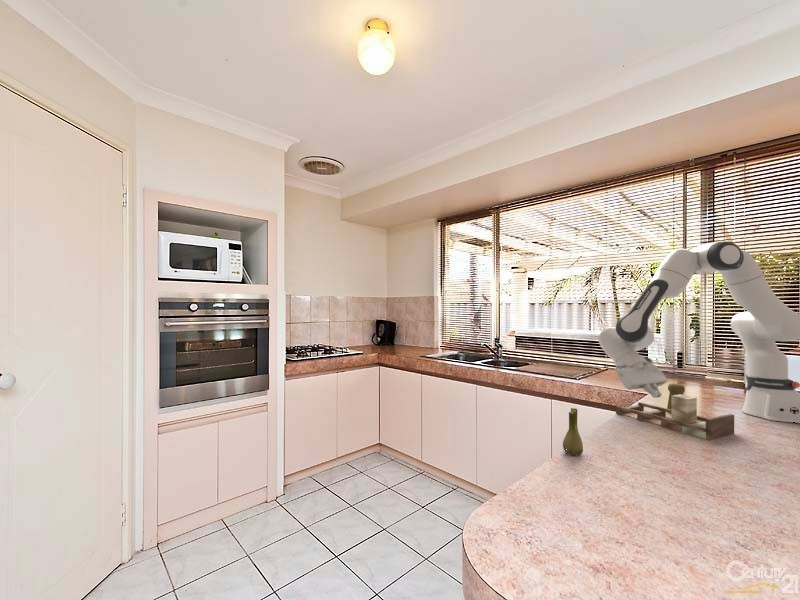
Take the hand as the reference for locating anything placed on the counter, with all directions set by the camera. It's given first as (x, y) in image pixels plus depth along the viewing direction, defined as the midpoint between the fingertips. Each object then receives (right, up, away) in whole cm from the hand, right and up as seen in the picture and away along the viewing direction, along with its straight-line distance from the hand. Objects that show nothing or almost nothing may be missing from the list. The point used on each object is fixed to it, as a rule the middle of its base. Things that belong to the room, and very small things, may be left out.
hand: (658, 396), depth 135 cm
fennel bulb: (-45, -7, -32) cm, 56 cm away
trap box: (+2, -8, -4) cm, 9 cm away
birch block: (+3, -6, -8) cm, 10 cm away
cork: (+13, -9, +9) cm, 18 cm away
